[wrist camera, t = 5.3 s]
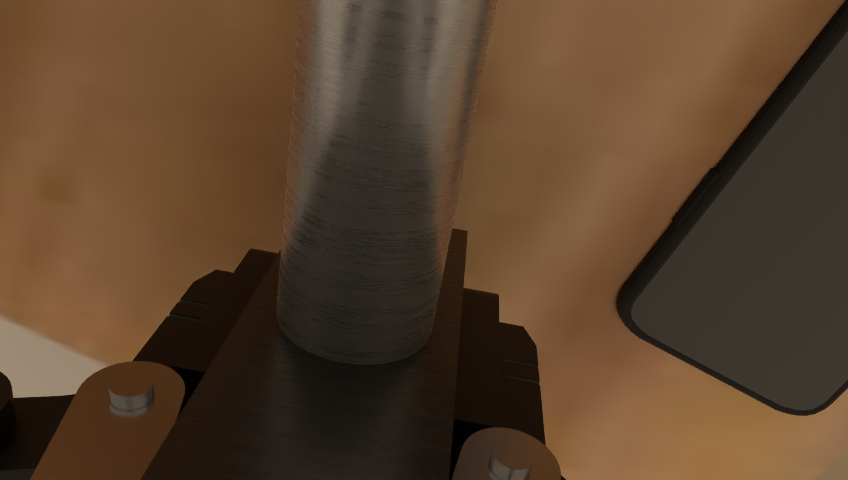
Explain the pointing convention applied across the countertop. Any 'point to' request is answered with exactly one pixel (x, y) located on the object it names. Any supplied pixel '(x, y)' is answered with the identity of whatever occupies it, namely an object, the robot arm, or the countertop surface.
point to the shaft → (353, 262)
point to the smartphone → (764, 249)
